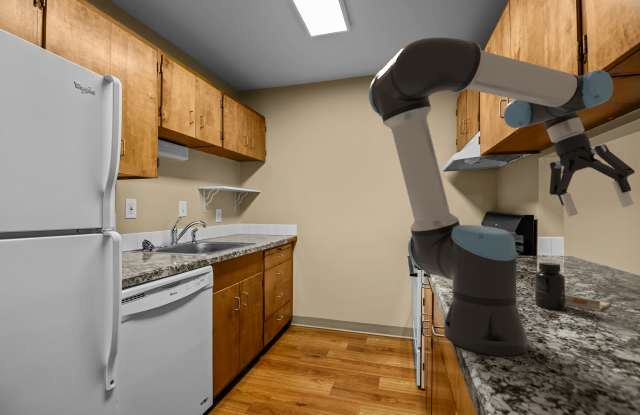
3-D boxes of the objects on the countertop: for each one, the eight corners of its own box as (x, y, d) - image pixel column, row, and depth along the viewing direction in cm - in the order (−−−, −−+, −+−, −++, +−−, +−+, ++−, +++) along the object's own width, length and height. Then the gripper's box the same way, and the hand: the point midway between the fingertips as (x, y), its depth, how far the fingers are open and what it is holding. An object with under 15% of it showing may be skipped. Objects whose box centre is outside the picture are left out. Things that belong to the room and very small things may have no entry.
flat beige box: (598, 311, 82) (598, 301, 82) (554, 302, 90) (554, 293, 90) (610, 304, 87) (610, 295, 87) (567, 296, 96) (567, 288, 96)
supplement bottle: (571, 311, 82) (570, 266, 82) (542, 309, 83) (542, 265, 83) (556, 303, 89) (556, 262, 89) (530, 302, 90) (530, 261, 90)
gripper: (630, 114, 74) (667, 197, 71) (539, 152, 98) (564, 215, 95) (608, 118, 72) (646, 204, 69) (520, 156, 96) (545, 221, 93)
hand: (598, 211), depth 82 cm, fingers open, 13 cm apart
